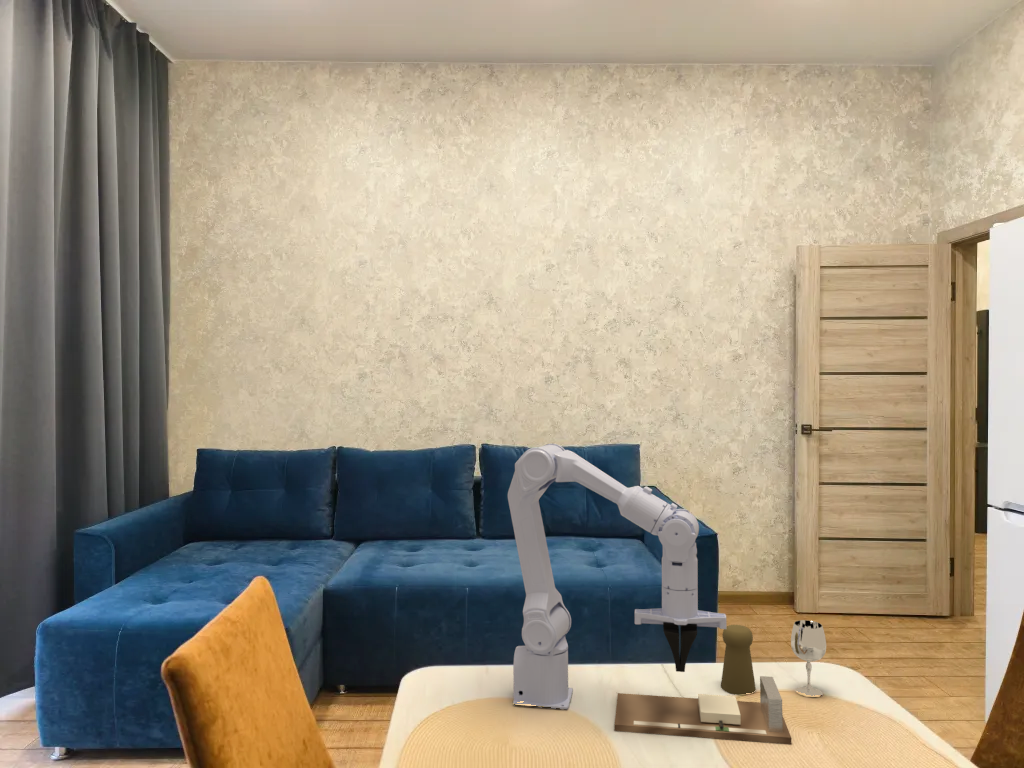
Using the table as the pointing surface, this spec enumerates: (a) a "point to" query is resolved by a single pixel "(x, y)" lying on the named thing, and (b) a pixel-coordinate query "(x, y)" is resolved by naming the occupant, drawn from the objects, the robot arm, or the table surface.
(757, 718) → the gauge base
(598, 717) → the table surface
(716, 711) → the carriage
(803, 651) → the wineglass
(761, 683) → the gray stone tile
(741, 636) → the cork
